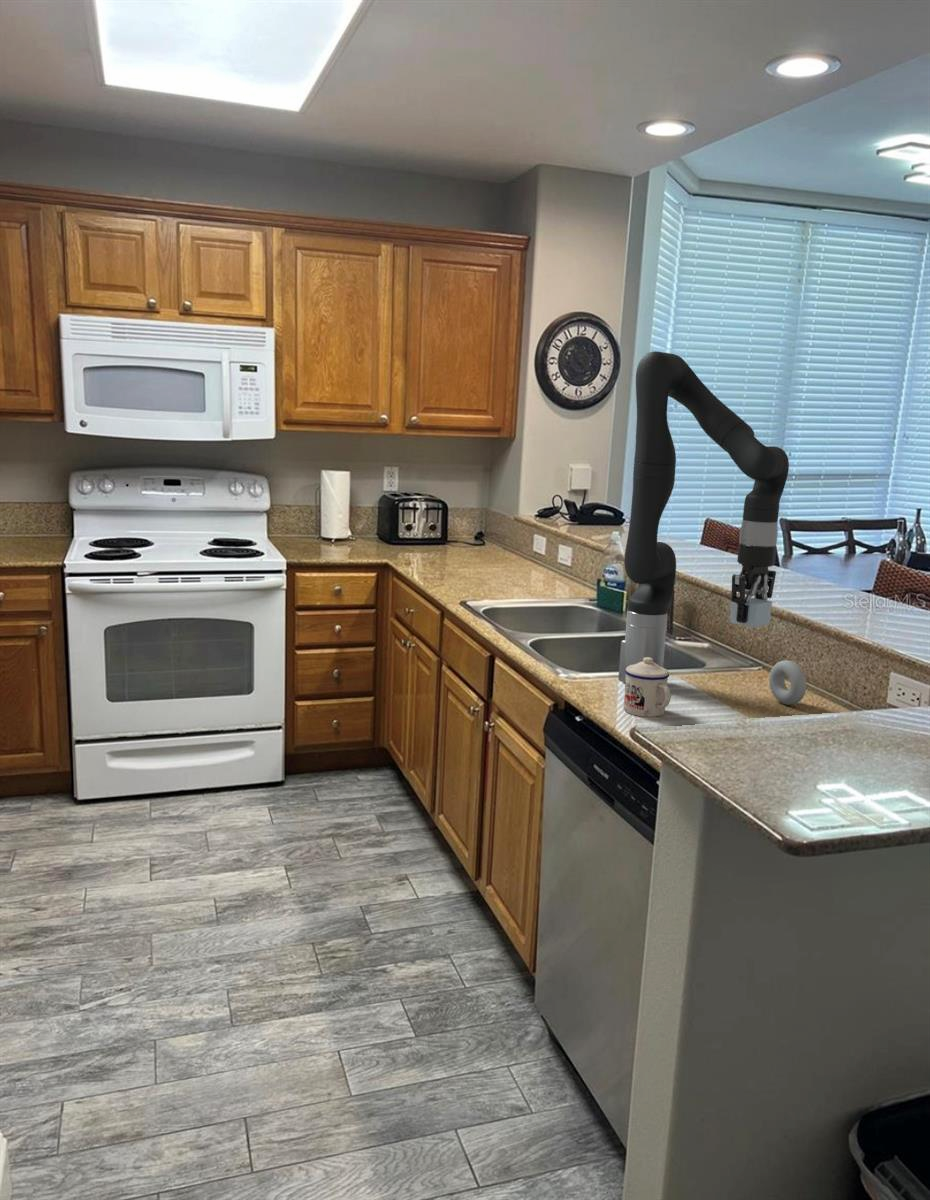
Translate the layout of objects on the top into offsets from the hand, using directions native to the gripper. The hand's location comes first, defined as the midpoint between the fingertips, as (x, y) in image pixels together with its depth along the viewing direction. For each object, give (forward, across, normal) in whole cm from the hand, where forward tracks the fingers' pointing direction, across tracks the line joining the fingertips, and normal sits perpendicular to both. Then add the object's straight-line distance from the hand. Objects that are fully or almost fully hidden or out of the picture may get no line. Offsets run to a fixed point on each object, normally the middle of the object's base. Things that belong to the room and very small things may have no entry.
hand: (749, 620), depth 196 cm
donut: (+20, -11, +4) cm, 23 cm away
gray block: (+1, 0, 0) cm, 1 cm away
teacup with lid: (+20, +20, -10) cm, 30 cm away
